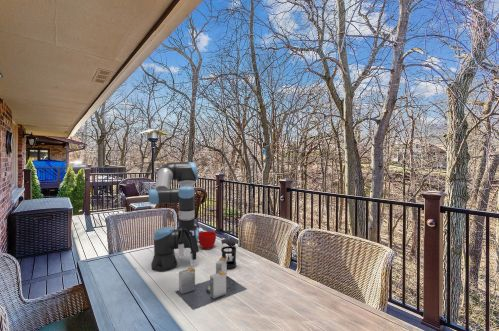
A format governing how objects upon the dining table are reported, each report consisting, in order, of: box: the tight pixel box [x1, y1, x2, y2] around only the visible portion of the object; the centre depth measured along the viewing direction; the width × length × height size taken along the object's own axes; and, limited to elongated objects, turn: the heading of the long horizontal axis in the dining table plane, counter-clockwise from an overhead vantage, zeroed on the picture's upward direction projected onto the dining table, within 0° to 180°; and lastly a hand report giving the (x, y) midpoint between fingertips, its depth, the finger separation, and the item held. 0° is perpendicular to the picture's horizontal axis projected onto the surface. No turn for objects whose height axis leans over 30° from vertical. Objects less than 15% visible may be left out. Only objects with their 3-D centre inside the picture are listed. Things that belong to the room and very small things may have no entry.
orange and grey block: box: [178, 266, 196, 294], centre depth 138 cm, size 3×7×10 cm, turn 128°
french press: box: [220, 229, 237, 271], centre depth 167 cm, size 12×9×23 cm
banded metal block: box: [209, 271, 226, 299], centre depth 134 cm, size 3×7×10 cm, turn 128°
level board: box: [174, 275, 248, 311], centre depth 139 cm, size 20×30×3 cm, turn 128°
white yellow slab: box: [215, 256, 228, 277], centre depth 150 cm, size 3×7×10 cm, turn 163°
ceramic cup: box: [198, 230, 217, 250], centre depth 203 cm, size 13×17×10 cm
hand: (187, 261), depth 137 cm, fingers open, 13 cm apart
